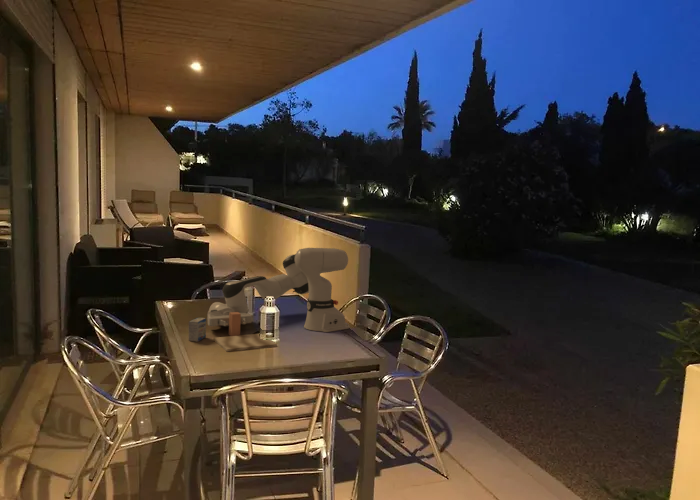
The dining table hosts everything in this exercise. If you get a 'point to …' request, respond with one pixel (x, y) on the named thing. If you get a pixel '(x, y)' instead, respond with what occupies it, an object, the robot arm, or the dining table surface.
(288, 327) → the dining table surface
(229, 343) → the birch board
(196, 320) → the medicine box
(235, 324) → the terracotta block
